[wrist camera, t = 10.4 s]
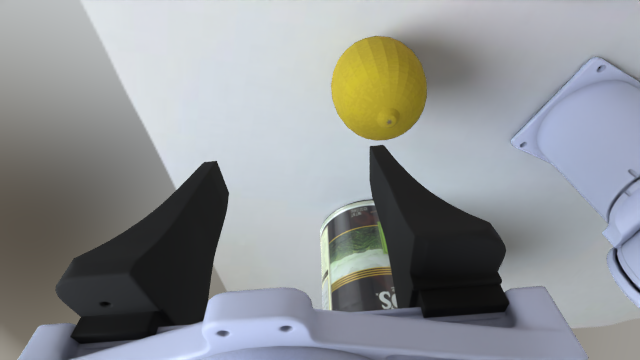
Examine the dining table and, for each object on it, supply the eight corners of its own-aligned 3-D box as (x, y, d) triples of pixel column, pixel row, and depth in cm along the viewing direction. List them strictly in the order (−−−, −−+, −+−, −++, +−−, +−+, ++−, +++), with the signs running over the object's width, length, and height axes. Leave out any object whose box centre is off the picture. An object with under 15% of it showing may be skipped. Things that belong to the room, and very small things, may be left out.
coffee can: (353, 184, 30) (379, 341, 19) (435, 220, 34) (496, 369, 23) (300, 246, 36) (298, 393, 25) (376, 271, 39) (402, 409, 29)
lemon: (346, 7, 20) (362, 53, 14) (422, 37, 22) (467, 90, 16) (317, 86, 24) (320, 150, 18) (385, 108, 25) (410, 174, 19)
